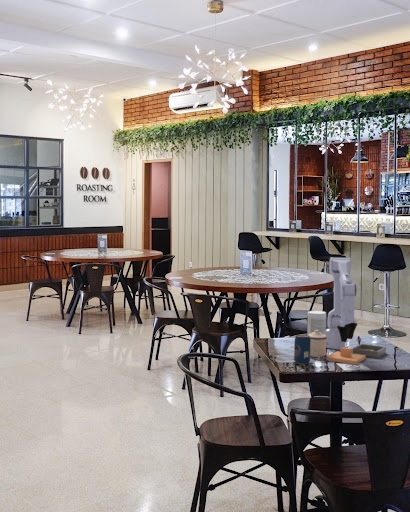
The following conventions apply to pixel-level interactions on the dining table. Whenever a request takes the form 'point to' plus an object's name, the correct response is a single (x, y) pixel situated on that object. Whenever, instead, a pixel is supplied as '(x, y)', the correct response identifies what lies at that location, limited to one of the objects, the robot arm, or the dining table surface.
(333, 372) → the dining table surface
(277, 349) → the dining table surface
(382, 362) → the dining table surface
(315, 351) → the teacup with lid
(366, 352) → the parts tub
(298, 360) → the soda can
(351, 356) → the lid
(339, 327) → the robot arm
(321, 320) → the supplement tub
